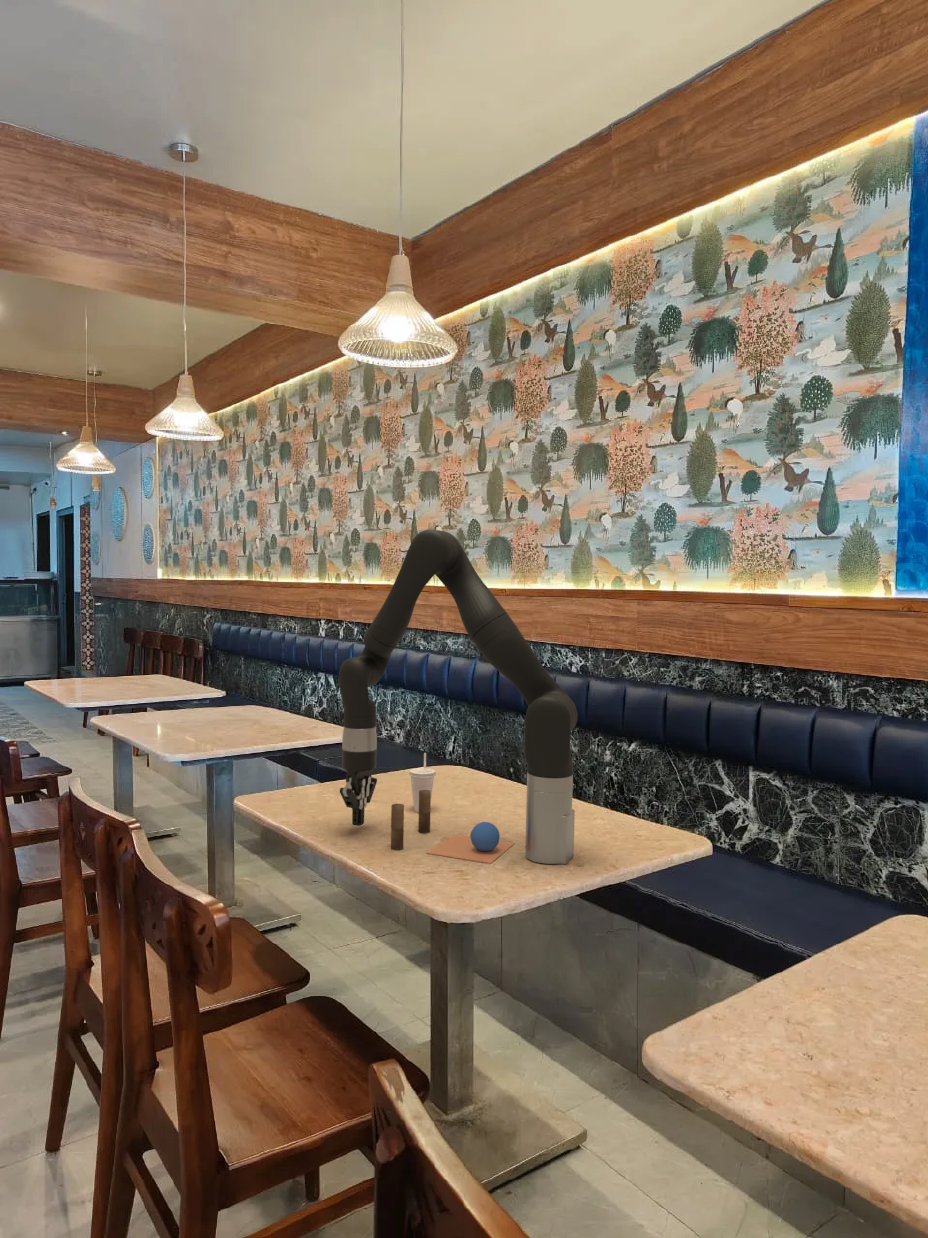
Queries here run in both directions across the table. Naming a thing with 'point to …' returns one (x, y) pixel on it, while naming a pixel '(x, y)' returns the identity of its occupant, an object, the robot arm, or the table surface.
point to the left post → (397, 826)
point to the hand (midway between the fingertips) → (358, 824)
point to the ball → (485, 836)
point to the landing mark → (468, 850)
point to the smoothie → (421, 782)
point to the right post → (424, 811)
